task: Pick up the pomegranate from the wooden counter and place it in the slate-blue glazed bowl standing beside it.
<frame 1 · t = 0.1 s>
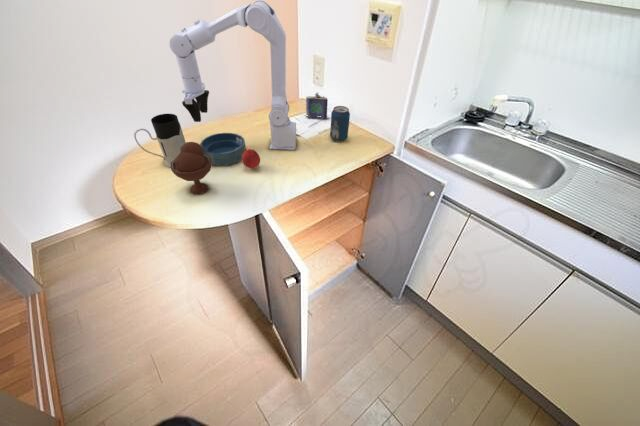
hand: (201, 116, 103), 10 cm above the table, tool pointing down, fingers open, 7 cm apart
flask: (316, 118, 129), on the table
pomegranate: (252, 169, 98), on the table
glass holder: (170, 163, 99), on the table
soda can: (338, 139, 115), on the table
ice cream bowl: (199, 189, 88), on the table
bowl: (225, 155, 103), on the table
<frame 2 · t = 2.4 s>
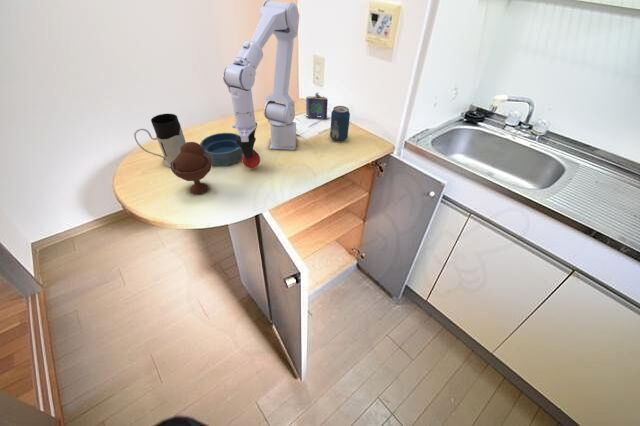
hand: (249, 151, 93), 6 cm above the table, tool pointing down, fingers open, 7 cm apart
nothing on the table moved.
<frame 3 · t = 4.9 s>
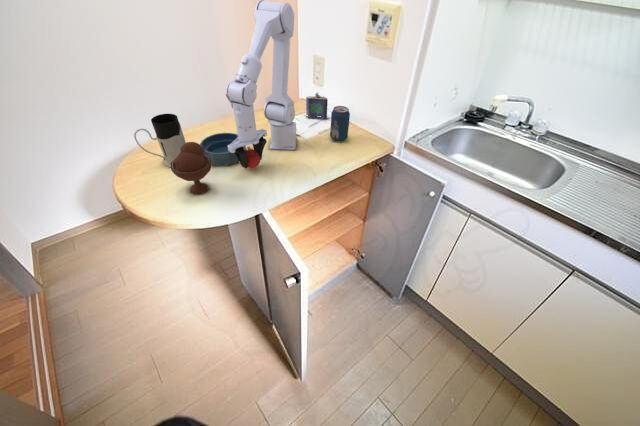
hand: (251, 163, 96), 2 cm above the table, tool pointing down, fingers closed on pomegranate, 6 cm apart
pomegranate: (252, 169, 98), on the table, touching gripper
everything else where it was.
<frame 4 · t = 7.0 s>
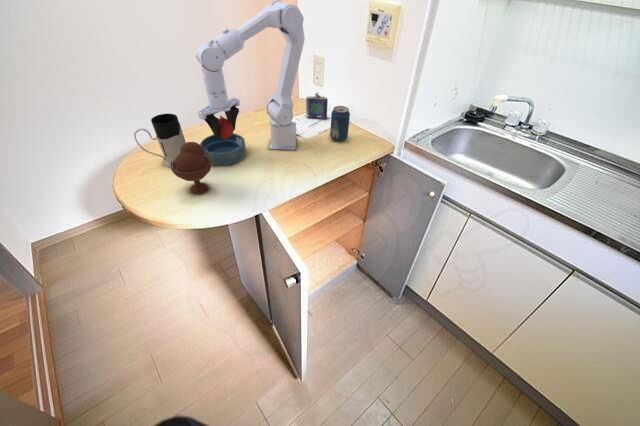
hand: (224, 132, 96), 9 cm above the table, tool pointing down, fingers closed on pomegranate, 6 cm apart
pomegranate: (226, 139, 98), point 7 cm above the table, touching gripper
everything else where it was.
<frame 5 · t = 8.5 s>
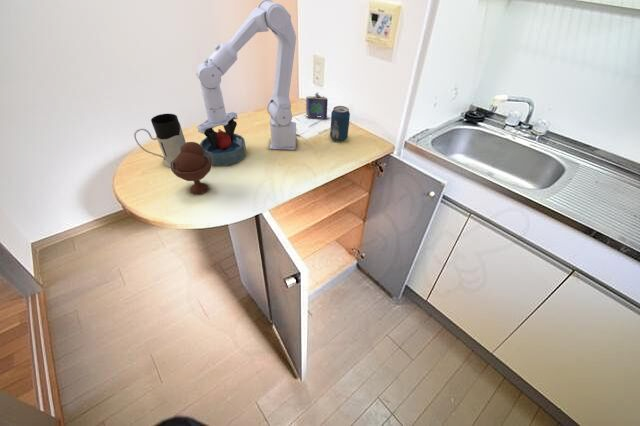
hand: (223, 144, 101), 4 cm above the table, tool pointing down, fingers closed on pomegranate, 6 cm apart
pomegranate: (224, 151, 102), point 2 cm above the table, touching gripper
everything else where it was.
when the fingers open (3 cm above the table, at t = 9.5 s): pomegranate stays where it is, resting on bowl.
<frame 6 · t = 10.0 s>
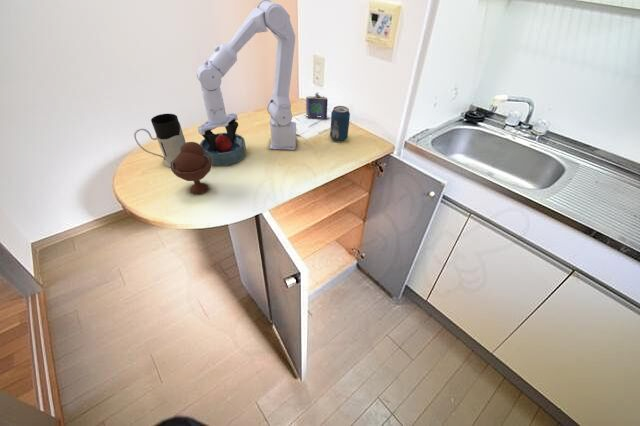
hand: (223, 146, 101), 4 cm above the table, tool pointing down, fingers open, 7 cm apart
pomegranate: (225, 154, 103), resting on bowl
everything else where it was.
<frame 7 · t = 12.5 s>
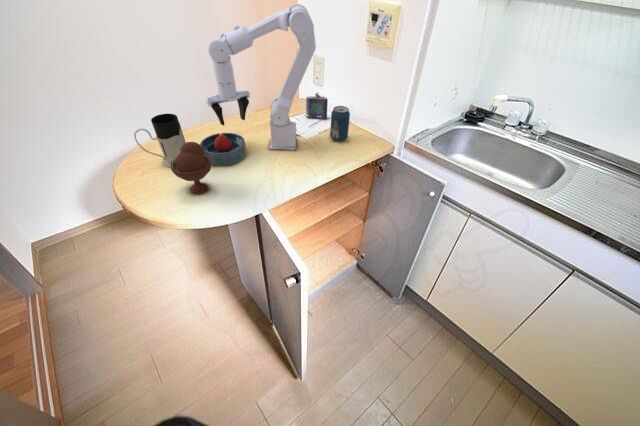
hand: (232, 121, 102), 9 cm above the table, tool pointing down, fingers open, 7 cm apart
nothing on the table moved.
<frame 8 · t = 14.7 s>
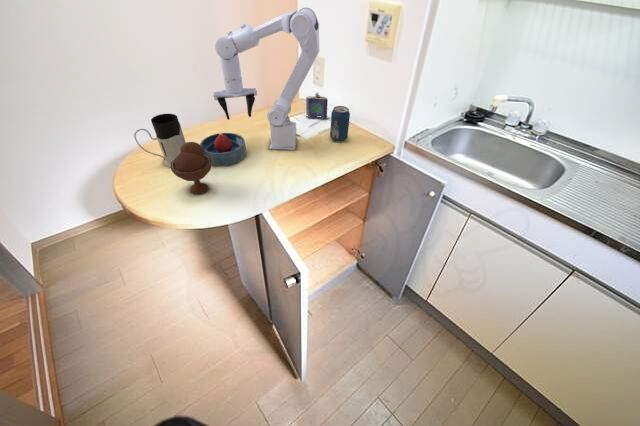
hand: (239, 117, 105), 9 cm above the table, tool pointing down, fingers open, 7 cm apart
nothing on the table moved.
at the end: pomegranate inside the target area in the bowl (0.0 cm from its centre), point 0.3 cm above the bowl's base; the gripper is holding nothing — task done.
